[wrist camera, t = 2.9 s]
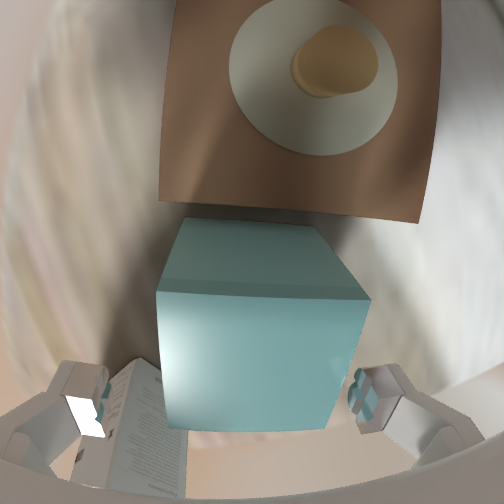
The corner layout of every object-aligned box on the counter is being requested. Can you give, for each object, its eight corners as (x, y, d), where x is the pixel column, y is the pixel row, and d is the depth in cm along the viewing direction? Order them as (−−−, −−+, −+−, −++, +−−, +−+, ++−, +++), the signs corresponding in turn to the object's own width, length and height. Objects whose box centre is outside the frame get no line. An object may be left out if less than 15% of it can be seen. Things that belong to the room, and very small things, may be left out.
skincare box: (136, 352, 17) (88, 551, 6) (196, 390, 19) (190, 576, 8) (92, 396, 19) (47, 550, 7) (144, 427, 20) (124, 576, 9)
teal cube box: (313, 226, 15) (371, 300, 9) (294, 331, 17) (324, 428, 11) (184, 217, 14) (155, 291, 8) (183, 326, 17) (168, 428, 10)
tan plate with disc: (428, 3, 11) (476, -16, 7) (406, 216, 15) (453, 246, 11) (191, -47, 10) (181, -94, 6) (163, 194, 14) (140, 222, 10)
